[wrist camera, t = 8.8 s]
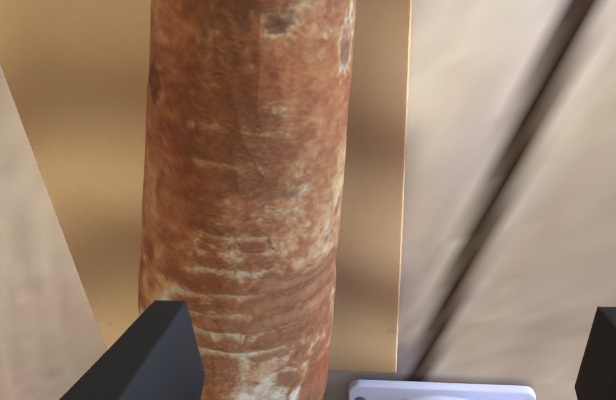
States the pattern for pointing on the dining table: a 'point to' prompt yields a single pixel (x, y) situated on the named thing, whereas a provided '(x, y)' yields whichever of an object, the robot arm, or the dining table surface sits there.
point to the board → (131, 156)
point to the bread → (248, 184)
